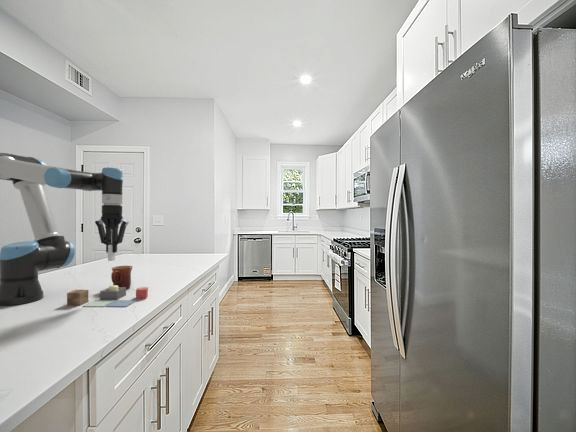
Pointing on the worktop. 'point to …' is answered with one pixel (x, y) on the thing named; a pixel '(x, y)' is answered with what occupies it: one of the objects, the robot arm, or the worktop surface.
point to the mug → (121, 276)
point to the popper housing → (112, 294)
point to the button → (113, 288)
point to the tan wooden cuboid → (77, 297)
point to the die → (142, 293)
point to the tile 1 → (99, 303)
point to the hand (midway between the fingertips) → (111, 260)
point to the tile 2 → (120, 303)
